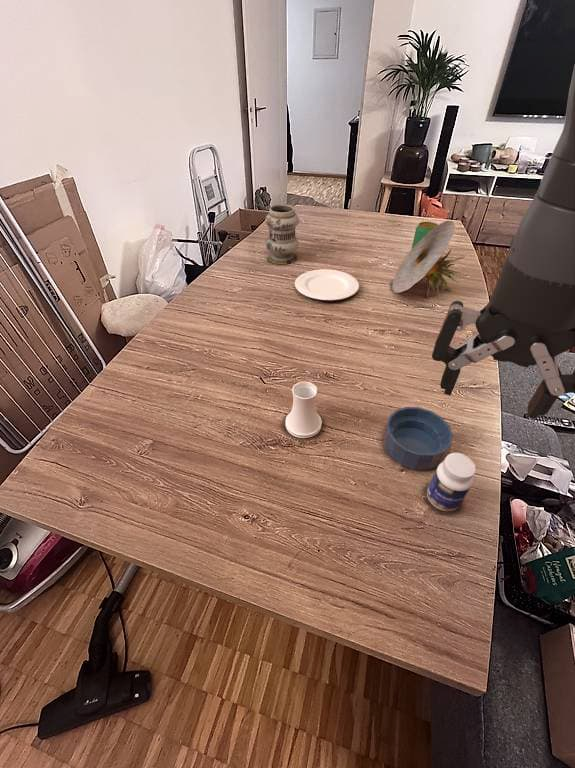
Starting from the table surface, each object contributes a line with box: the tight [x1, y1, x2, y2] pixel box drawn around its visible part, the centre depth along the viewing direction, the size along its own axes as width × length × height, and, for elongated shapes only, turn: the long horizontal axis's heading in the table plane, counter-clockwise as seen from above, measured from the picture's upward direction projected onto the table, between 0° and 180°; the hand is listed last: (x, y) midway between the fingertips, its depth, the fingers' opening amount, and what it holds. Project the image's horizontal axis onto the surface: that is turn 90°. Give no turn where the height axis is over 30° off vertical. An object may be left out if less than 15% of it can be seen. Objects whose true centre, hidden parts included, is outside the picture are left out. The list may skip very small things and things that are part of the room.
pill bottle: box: [426, 452, 477, 512], centre depth 63 cm, size 6×6×10 cm
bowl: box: [382, 406, 454, 471], centre depth 73 cm, size 12×12×5 cm
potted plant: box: [391, 220, 465, 298], centre depth 117 cm, size 25×18×25 cm
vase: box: [285, 381, 323, 439], centre depth 75 cm, size 8×8×10 cm
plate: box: [294, 268, 360, 302], centre depth 122 cm, size 21×21×2 cm
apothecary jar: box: [264, 203, 300, 265], centre depth 134 cm, size 12×12×18 cm
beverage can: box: [410, 221, 439, 251], centre depth 136 cm, size 8×8×12 cm
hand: (488, 401), depth 41 cm, fingers open, 8 cm apart
